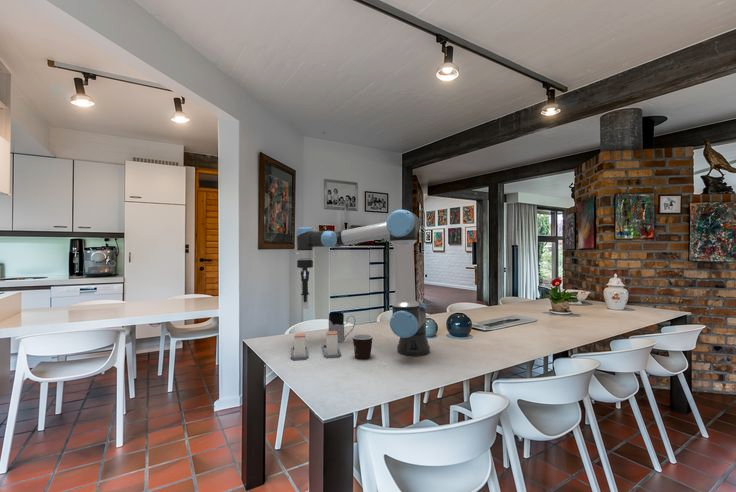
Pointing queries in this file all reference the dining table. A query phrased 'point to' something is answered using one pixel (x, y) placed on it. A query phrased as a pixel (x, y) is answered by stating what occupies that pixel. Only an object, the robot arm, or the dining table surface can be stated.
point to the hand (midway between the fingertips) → (305, 308)
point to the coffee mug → (362, 346)
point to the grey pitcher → (338, 325)
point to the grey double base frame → (308, 355)
